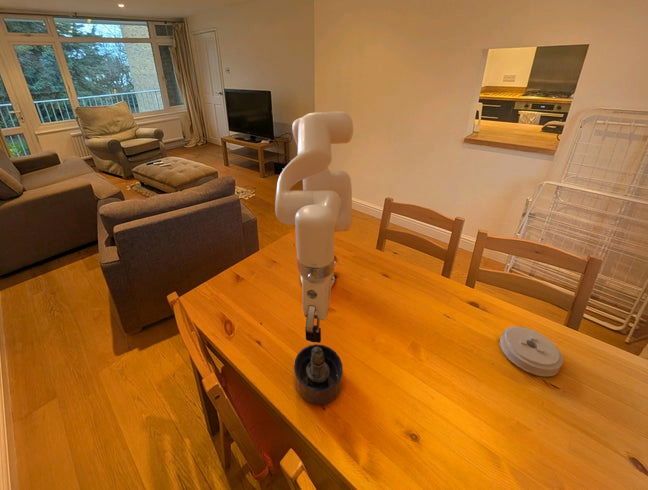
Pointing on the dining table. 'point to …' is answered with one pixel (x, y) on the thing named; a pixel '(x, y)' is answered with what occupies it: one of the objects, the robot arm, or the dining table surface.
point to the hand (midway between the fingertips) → (317, 322)
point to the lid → (531, 351)
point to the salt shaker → (317, 369)
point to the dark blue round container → (334, 376)
